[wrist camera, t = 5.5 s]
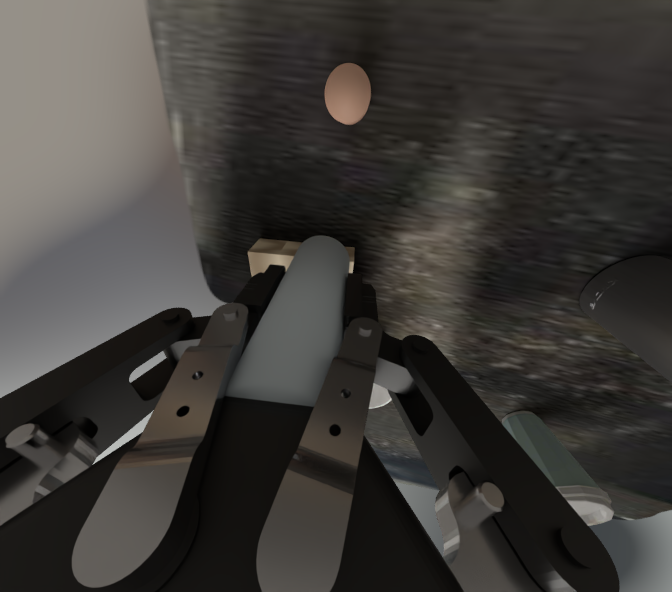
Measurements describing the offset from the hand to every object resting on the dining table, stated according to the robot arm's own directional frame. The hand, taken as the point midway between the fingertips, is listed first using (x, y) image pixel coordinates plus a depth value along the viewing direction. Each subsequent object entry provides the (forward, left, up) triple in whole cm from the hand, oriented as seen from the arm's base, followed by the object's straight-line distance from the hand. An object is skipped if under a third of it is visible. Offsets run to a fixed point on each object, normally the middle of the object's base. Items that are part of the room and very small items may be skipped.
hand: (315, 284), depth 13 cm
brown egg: (0, -9, -17) cm, 19 cm away
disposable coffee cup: (-39, +38, -17) cm, 57 cm away
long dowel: (0, 0, -3) cm, 3 cm away
